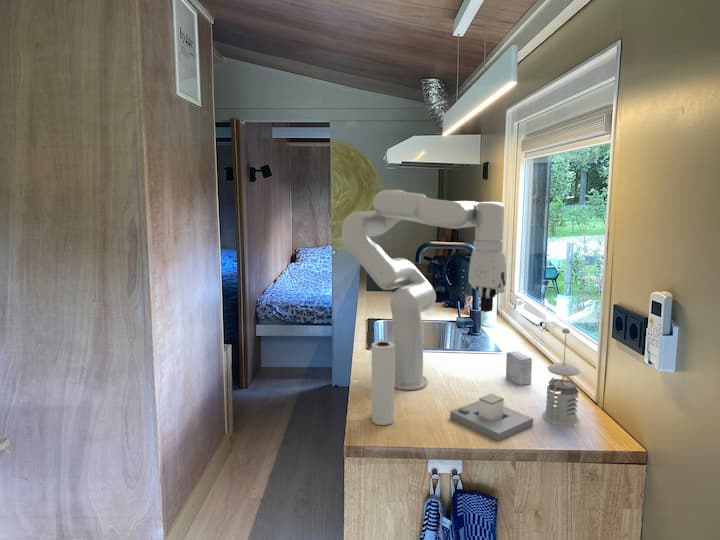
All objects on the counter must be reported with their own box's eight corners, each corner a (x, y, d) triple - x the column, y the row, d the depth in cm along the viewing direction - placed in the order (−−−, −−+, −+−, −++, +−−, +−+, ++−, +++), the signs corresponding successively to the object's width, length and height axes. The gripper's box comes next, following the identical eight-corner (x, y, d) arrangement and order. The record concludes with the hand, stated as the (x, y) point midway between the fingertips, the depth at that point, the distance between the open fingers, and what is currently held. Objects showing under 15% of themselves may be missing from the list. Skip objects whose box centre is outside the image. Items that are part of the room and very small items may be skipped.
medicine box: (531, 384, 160) (532, 358, 159) (519, 385, 159) (520, 359, 158) (517, 375, 168) (518, 350, 167) (505, 377, 167) (506, 351, 165)
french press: (586, 418, 136) (593, 328, 132) (567, 432, 128) (573, 337, 124) (551, 407, 143) (556, 321, 139) (531, 419, 135) (536, 329, 132)
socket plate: (450, 418, 136) (450, 409, 136) (484, 405, 145) (484, 396, 144) (498, 441, 124) (498, 431, 123) (532, 425, 132) (533, 416, 132)
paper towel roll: (388, 427, 131) (388, 348, 128) (367, 422, 134) (367, 345, 131) (399, 417, 137) (400, 341, 134) (379, 412, 140) (380, 338, 137)
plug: (478, 419, 134) (479, 398, 133) (490, 414, 137) (491, 393, 136) (490, 425, 131) (491, 403, 130) (502, 419, 134) (503, 398, 133)
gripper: (459, 245, 144) (457, 308, 147) (502, 249, 132) (499, 318, 135) (476, 243, 149) (474, 304, 151) (519, 248, 137) (516, 314, 140)
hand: (486, 310), depth 143 cm, fingers closed
